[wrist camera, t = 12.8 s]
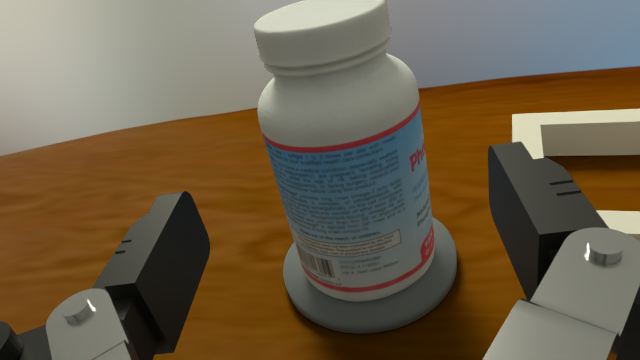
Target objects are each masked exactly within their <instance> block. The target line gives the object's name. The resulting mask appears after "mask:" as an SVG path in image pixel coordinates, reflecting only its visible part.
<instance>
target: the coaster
mask: <svg viewBox="0 0 640 360" xmlns="http://www.w3.org/2000/svg"><path fill="white" fill-rule="evenodd" d="M432 221H433V229H434V242H435V251H434V256H433V259H432V262H431V264H430V266H429V268H428V270H427V271H426V272H425V273H424V274H423V275H422V276H421V277H420V278H419V279H418V280H417V281H416V282H414V283H413V284H411V285H410V286H409V287H407V288H405V289H403V290H401V291H399V292H396V293H394V294H392V295H389V296H387V297H383V298H380V299H375V300H370V301H356V302H355V301H346V300H341V299H337V298H334V297H331V296H329V295H327V294H325V293H323V292H321V291H320V290H318V289H317V288H316V287H315V286H314V285H312V284H311V282H310V281H309V280H308V278H307V277H306V275H305V273H304V271H303V268H302V265H301V262H300V258H299V255H298V252H297V248H296V245H295V242H293V244H292V245H291V247H290V249H289V250H288V253H287V255H286V257H285V261H284V266H283V277H284V282H285V285H286V288H287V291H288V294H289V297H290V299H291V301H292V303H293V304H294V306H295V307H296V308H297V310H298V311H299V312H300V313H301V314H303V315H304V316H305V317H306V318H308V319H309V320H311V321H312V322H314V323H316V324H318V325H320V326H322V327H325V328H328V329H331V330H334V331H339V332H344V333H354V334H368V333H378V332H385V331H389V330H393V329H397V328H400V327H402V326H405V325H408V324H410V323H412V322H414V321H416V320H418V319H420V318H422V317H423V316H425V315H426V314H428V313H429V312H431V311H432V310H433V309H434V308H435V307H436V306H438V305H439V304H440V303H441V301H442V300H443V299H444V298H445V297H446V296H447V294H448V292H449V291H450V289H451V288H452V285H453V283H454V280H455V277H456V272H457V255H456V248H455V243H454V241H453V238H452V236H451V235H450V233H449V231H448V230H447V229H446V228H445V227H444V225H443V224H441V223H440V222H439V221H438V220H437V219H435V218H434V217H432Z"/></svg>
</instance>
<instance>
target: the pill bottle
mask: <svg viewBox="0 0 640 360" xmlns="http://www.w3.org/2000/svg"><path fill="white" fill-rule="evenodd" d="M391 32H392V28H391V26H390V22H389V14H388V7H387V1H386V0H304V1H301V2H297V3H294V4H290V5H288V6H285V7H282V8H280V9H277V10H275V11H272V12H270V13H268V14H266V15H264V16H263V17H261V18H260V19H259V20H258V21H257V22H256V23H255V25H254V33H255V37H256V41H257V45H258V49H259V53H260V59H261V60H262V61H263V62H264V65H265V68H266V69H267V70H268V71H269V72H271V73H273V74H274V78H273V79H272V80H271V81H270V82H269V83H268V85H267V86H266V87H265V89H264V91H263V92H262V94H261V97H260V99H259V103H258V119H259V123H260V127H261V130H262V134H263V137H264V141H265V144H266V148H267V151H268V154H269V158H270V161H271V164H272V168H273V171H274V175H275V178H276V181H277V185H278V188H279V192H280V195H281V198H282V202H283V205H284V209H285V212H286V216H287V219H288V222H289V225H290V229H291V232H292V235H293V239H294V242H295V245H296V248H297V252H298V255H299V258H300V262H301V265H302V268H303V271H304V273H305V275H306V277H307V278H308V280H309V281H310V282H311V284H312V285H314V286H315V287H316V288H317V289H318V290H320V291H321V292H323V293H325V294H327V295H329V296H331V297H334V298H337V299H341V300H346V301H355V302H356V301H370V300H375V299H380V298H383V297H387V296H389V295H392V294H394V293H396V292H399V291H401V290H403V289H405V288H407V287H409V286H410V285H411V284H413V283H414V282H416V281H417V280H418V279H419V278H420V277H421V276H422V275H423V274H424V273H425V272H426V271H427V270H428V268H429V266H430V264H431V262H432V259H433V256H434V251H435V242H434V229H433V221H432V212H431V202H430V192H429V183H428V174H427V165H426V156H425V145H424V136H423V127H422V119H421V108H420V100H419V93H418V86H417V82H416V79H415V77H414V75H413V73H412V71H411V70H410V69H409V68H408V66H407V65H406V64H405V63H403V62H402V61H401V60H399V59H398V58H396V57H394V56H392V55H389V54H386V52H385V49H386V48H387V47H388V45H389V43H390V35H391Z"/></svg>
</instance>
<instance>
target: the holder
mask: <svg viewBox="0 0 640 360" xmlns="http://www.w3.org/2000/svg"><path fill="white" fill-rule="evenodd" d="M519 141H521V142H522V143H523V144H524V146H525V147H526V149H527V150H528V152H529V153H530V155H531V156H532V158H533V159H539V158H544V156H592V155H640V109H626V110H603V111H579V112H555V113H531V114H512V142H519ZM596 211H597V210H596ZM597 212H598V214H599V215H600V216H601V218H602V219H603V220H604V222H605V223H606V224H607V226H608V227H609V229H614V230H618V231H621V232H624V233H626V234H628V235H630V236H632V237H634V238H635V239H637V240H638V241H640V212H636V211H597Z"/></svg>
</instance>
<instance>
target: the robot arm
mask: <svg viewBox="0 0 640 360" xmlns="http://www.w3.org/2000/svg"><path fill="white" fill-rule="evenodd" d="M488 171H489V202H490V208H491V213H492V217H493V220H494V223H495V225H496V227H497V230H498V232H499V234H500V237H501V239H502V241H503V244H504V246H505V248H506V251H507V253H508V256H509V258H510V260H511V263H512V265H513V267H514V270H515V272H516V274H517V277H518V279H519V281H520V284H521V286H522V288H523V291H524V293H525V296H526V298H527V300H526V299H520V300H519V301H517V303H516V304H515V305H514V307H513V309H512V310H511V312H510V314H509V315H508V317H507V319H506V320H505V322H504V324H503V325H502V327H501V329H500V331H499V332H498V334H497V336H496V337H495V339H494V341H493V342H492V344H491V346H490V347H489V349H488V351H487V353H486V354H485V356H484V358H483V359H482V360H640V241H638V240H637V239H635V238H634V237H632V236H630V235H628V234H626V233H624V232H621V231H618V230H614V229H609V227H608V226H607V224H606V223H605V222H604V220H603V219H602V218H601V216H600V215H599V214H598V212H597V211H596V210H595V208H594V207H593V206H592V204H591V203H590V202H589V200H588V199H587V198H586V196H585V195H584V194H583V193H581V190H580V188H579V187H578V186H577V184H576V183H575V182H573V179H572V178H571V176H570V175H569V174H568V172H567V171H566V169H565V168H564V167H563V166H561V165H559V164H557V163H556V162H554V161H552V160H550V159H548V158H547V157H546V158H539V159H533V158H532V156H531V155H530V153H529V152H528V150H527V149H526V147H525V146H524V144H523V143H522V142H521V141H519V142H512V143H505V144H499V145H492V146H489V149H488ZM209 254H210V242H209V237H208V234H207V231H206V229H205V227H204V224H203V222H202V220H201V217H200V215H199V212H198V210H197V208H196V205H195V203H194V201H193V198H192V196H191V195H190V194H189V193H188V192H187V191H183V192H177V193H170V194H164V195H159V196H158V197H157V199H156V200H155V202H154V204H153V206H152V207H151V209H150V211H149V212H148V214H147V215H143V216H142V217H141V218H140V219H139V220H138V221H137V222H136V223H135V224H133V225H132V226H131V227H130V228H129V230H128V231H127V233H126V235H125V236H124V238H123V239H122V243H121V244H119V246H118V247H117V249H116V251H115V254H114V255H112V257H111V259H110V260H109V262H108V263H107V265H106V267H105V268H104V270H103V272H102V273H101V275H100V276H99V278H98V280H97V281H96V283H95V284H94V286H93V288H92V289H88V290H85V291H82V292H79V293H77V294H75V295H73V296H71V297H69V298H68V299H66V300H65V301H63V302H62V303H61V304H60V305H59V306H58V307H57V308H56V309H55V310H54V311H53V312H52V313H51V315H50V316H49V318H48V320H47V323H46V325H44V326H41V327H38V328H35V329H33V330H30V331H27V332H24V333H21V334H19V335H16V334H15V332H14V331H13V330H12V329H11V327H10V326H9V325H8V324H7V323H5V322H0V360H153V357H154V355H155V354H164V353H174V350H175V348H176V345H177V342H178V340H179V337H180V334H181V331H182V329H183V326H184V323H185V320H186V318H187V315H188V312H189V310H190V307H191V304H192V301H193V299H194V296H195V293H196V290H197V288H198V285H199V282H200V280H201V277H202V274H203V271H204V269H205V266H206V263H207V260H208V258H209Z"/></svg>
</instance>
